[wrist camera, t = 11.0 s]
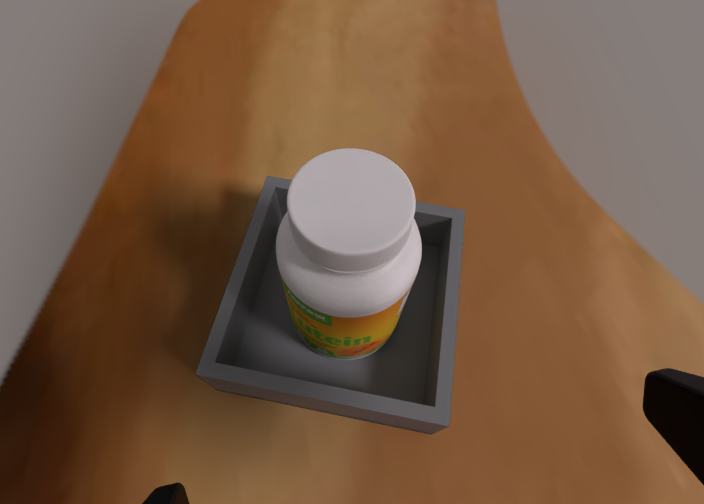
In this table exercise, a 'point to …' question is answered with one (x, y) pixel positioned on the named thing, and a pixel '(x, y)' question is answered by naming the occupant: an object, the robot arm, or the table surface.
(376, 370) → the trough tray
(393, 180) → the supplement bottle
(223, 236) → the table surface
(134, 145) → the table surface
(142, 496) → the table surface
